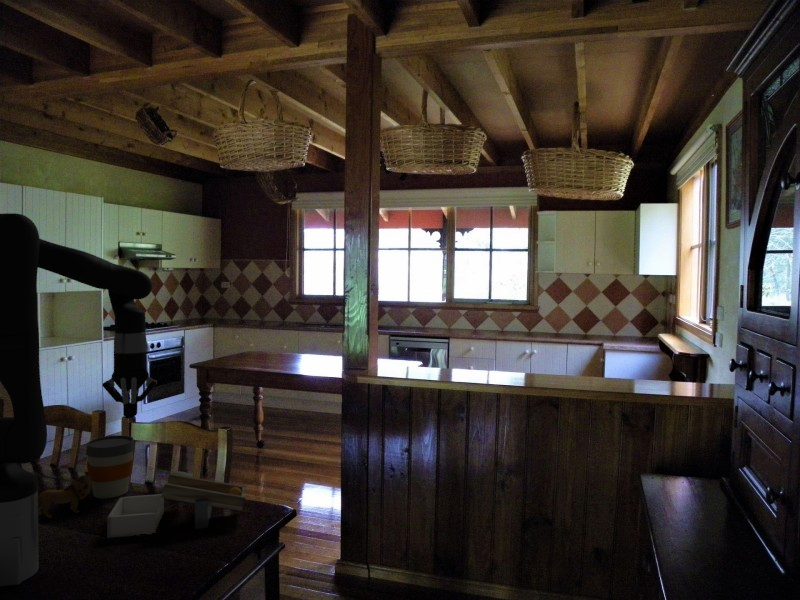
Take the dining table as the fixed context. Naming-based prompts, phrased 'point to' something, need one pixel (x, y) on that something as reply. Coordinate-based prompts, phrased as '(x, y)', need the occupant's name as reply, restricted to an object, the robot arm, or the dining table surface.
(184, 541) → the dining table surface
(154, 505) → the tray
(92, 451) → the reusable coffee cup
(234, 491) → the ball
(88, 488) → the lion figurine
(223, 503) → the lever
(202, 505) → the fulcrum
